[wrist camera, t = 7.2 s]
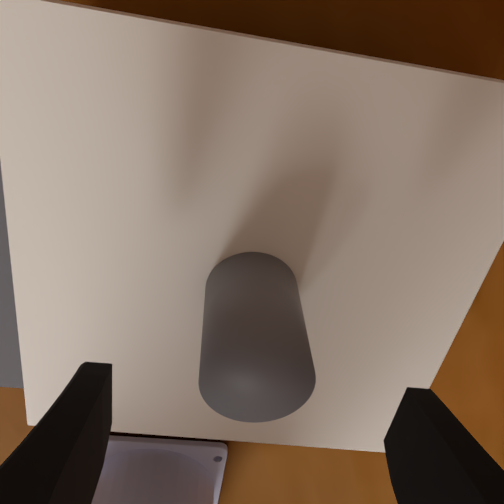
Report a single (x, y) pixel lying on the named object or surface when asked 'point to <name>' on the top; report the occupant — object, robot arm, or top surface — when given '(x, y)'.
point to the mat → (7, 310)
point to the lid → (239, 222)
